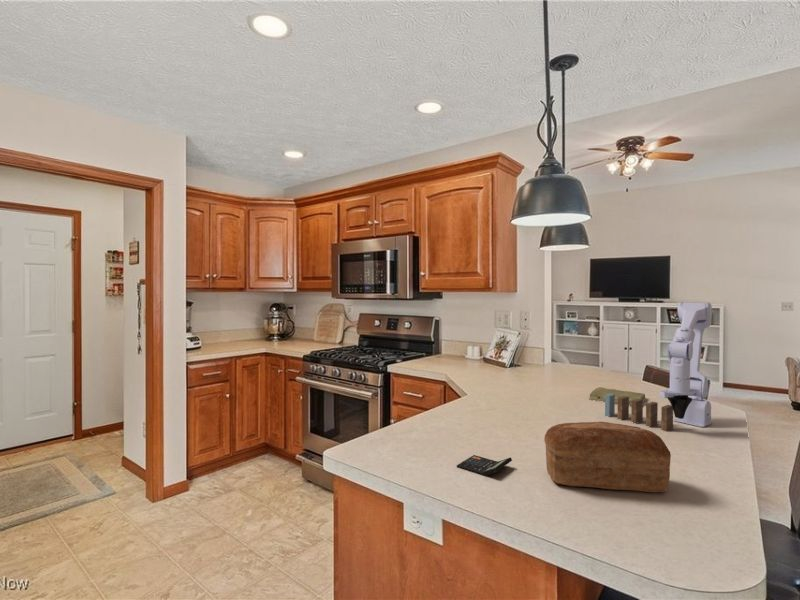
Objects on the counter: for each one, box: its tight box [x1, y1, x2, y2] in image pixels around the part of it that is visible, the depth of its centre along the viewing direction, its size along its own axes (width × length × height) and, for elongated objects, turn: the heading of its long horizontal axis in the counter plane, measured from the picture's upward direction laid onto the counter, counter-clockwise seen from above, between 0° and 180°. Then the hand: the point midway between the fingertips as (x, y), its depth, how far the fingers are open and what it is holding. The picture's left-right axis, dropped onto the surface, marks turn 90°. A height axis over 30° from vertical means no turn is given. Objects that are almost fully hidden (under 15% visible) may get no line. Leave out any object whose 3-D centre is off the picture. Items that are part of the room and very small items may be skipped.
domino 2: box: [617, 396, 630, 421], centre depth 155 cm, size 2×5×8 cm, turn 125°
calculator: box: [456, 454, 513, 476], centre depth 111 cm, size 9×12×3 cm
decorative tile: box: [588, 387, 646, 407], centre depth 183 cm, size 19×20×4 cm
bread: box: [543, 421, 672, 493], centre depth 103 cm, size 12×28×14 cm, turn 80°
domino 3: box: [630, 399, 644, 424], centre depth 151 cm, size 2×5×8 cm, turn 125°
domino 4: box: [645, 401, 659, 428], centre depth 147 cm, size 2×5×8 cm, turn 125°
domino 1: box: [604, 393, 616, 418], centre depth 159 cm, size 2×5×8 cm, turn 132°
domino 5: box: [660, 404, 674, 432], centre depth 143 cm, size 2×5×8 cm, turn 125°
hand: (679, 417), depth 140 cm, fingers closed
